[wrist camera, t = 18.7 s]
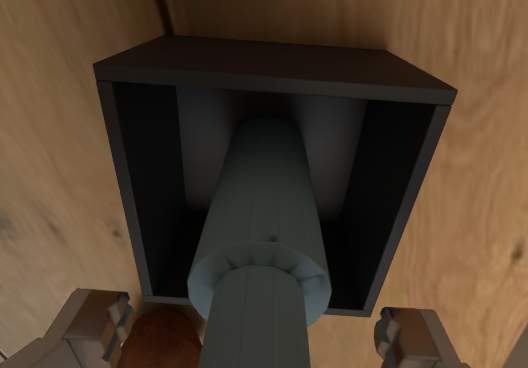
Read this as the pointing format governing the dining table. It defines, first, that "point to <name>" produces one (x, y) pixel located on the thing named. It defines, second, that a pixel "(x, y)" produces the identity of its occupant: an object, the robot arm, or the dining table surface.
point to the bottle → (261, 253)
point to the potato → (161, 342)
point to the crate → (286, 107)
